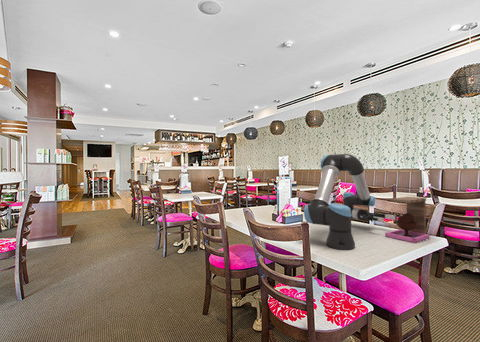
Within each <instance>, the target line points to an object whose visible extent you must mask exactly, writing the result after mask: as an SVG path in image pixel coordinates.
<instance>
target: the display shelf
mask: <svg viewBox="0 0 480 342" xmlns="http://www.w3.org/2000/svg"><path fill="white" fill-rule="evenodd" d="M426 201H427V197H417V196H403V197H402V196H401V197H396V198H395V197H394V198H390V202H392V203H393V202H394V203H395V202H396V203H406V213H410V214H412V215H413V216H414V221H415V222H417V225H416V227H415V228H414V229H412V230H409V231H412V232H417V233H423V234H427V215H426V214H427V213H426V211H427V210H426Z"/></svg>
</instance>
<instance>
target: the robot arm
mask: <svg viewBox="0 0 480 342" xmlns="http://www.w3.org/2000/svg"><path fill="white" fill-rule="evenodd" d="M320 169H321V171H322V176H321V178H320V182H319V185H318V187H317V190H316V193H315V196H314V198H312V199H311V200H310V202H309V203H307V204H305V205H304V208H303V216H304V220H305V221H306V223H308V222H309V223H308V224H312V225H319V226H325V227H326V226H327V227H329V231H328V235H327V239H326V241H325V242H326V246H327V247H329V248H332V249H336V250H343V251H344V250H345V251H347V250H353V249H355V248H356V242H355V240H354V236H353V233H352V219H355V220H361V221H366V220H367V221H368V222H372V223H373V222H380V223H384V219H388V220H393V221H395V220H396V215H393V214H387V213H376V212H368V211H367V210H365V209H361V208H354V207H355V206H360V207H374V206H375V205H376V197H375V196H374V195H371V194H370V190H369V187H368V183H367V181H366V177H365V174H364V172H365V168H364V165H363V163H362V162H361V160H360V159H358V158H357V157H356V156H355V155H352V154H351V153H343V154H342V153H341V154H339V153H338V154H327V155H324V156H322V158H321V161H320ZM341 172H348V174H349V175H350V176H351V178H352V182H353V183H354V187H355V189H356V192H357V195H356V194H355V193H354V192H346V191H345V192H343V194H342V203H343V204H341V203H340V204H339V203H329V201H330V198H331V195H332V192H333V189H334V186H335V181H336V178H337V177H338V176H340V174H341Z"/></svg>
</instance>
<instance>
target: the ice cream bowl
mask: <svg viewBox="0 0 480 342" xmlns="http://www.w3.org/2000/svg"><path fill="white" fill-rule="evenodd" d="M395 223H396V226H397V227H398V228H400V229H401V230H404V231H405V234H404V235H402V236H406V237H411V238H412V236H410V235H409V234H408V231H409V230H412V229H414V228H415V227H416V225H417V222H415V221H414V216H413V215H412V214H410V213H407V212H406V213H404V214H403V215H400V216H398V218H397V220H396V221H395Z"/></svg>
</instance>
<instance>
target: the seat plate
mask: <svg viewBox="0 0 480 342" xmlns="http://www.w3.org/2000/svg"><path fill="white" fill-rule="evenodd" d="M384 234H385V237H386V238H391V239H395V240H398V241H403V242H408V243H413V244H418V243H421V242H424V241H427V240H426V239H428V240H430V239H431V238H430V234H427V233H426V234H423V233H417V232H412V231H408V234H409V235H410V236H412V238H411V237H406V236H402V235H404V234H405V231H404V230H403V229H401V228H400V229H396V230H395V229H394V230H391V231H387V232H384ZM429 238H430V239H429ZM423 240H424V241H423ZM420 241H421V242H420ZM417 242H418V243H417Z"/></svg>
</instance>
